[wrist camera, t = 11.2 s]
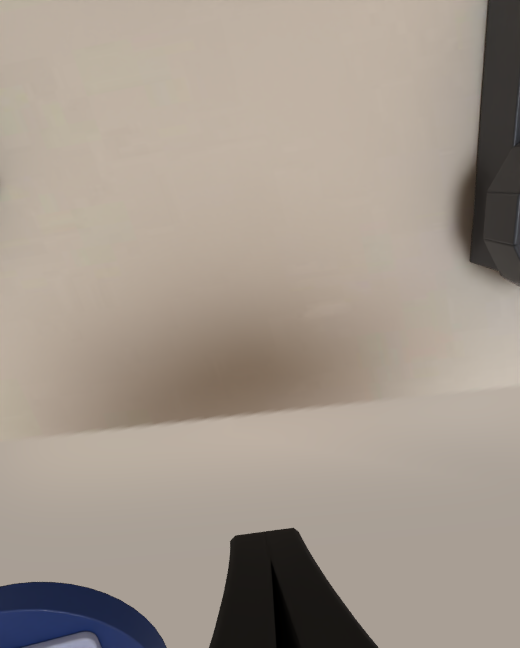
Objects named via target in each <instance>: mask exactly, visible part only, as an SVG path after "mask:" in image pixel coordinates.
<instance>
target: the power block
mask: <svg viewBox="0 0 520 648" xmlns="http://www.w3.org/2000/svg"><path fill="white" fill-rule="evenodd" d="M470 262H472V263H475V264H478V265H481V266H484V267H487V268H491V269H494V270H497V271H499V273H500V275H501V276H503V277H504V278H505V279H507V280H509V281H510V282H512V283H514V284H516V285H518V286H520V0H489V7H488V21H487V35H486V49H485V63H484V77H483V90H482V104H481V118H480V132H479V146H478V160H477V174H476V187H475V201H474V215H473V229H472V243H471V257H470Z"/></svg>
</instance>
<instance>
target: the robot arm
mask: <svg viewBox="0 0 520 648" xmlns="http://www.w3.org/2000/svg"><path fill="white" fill-rule="evenodd" d="M22 648H102V647H101V645H100V643H99V640H98V638H97V636H96V635H95V634H94V633H92V632H88V631H84V632H80V633H76V634H72V635H68V636H64V637H60V638H56V639H53V640H49V641H45V642H41V643H37V644H33V645H29V646H26V647H22ZM209 648H378V646H377V645H376V644H375V643H374V642H373V640H372V639H371V638H370V637H369V635H368V634H367V633H366V632H365V631H364V629H363V628H362V627H361V625H360V624H359V623H358V622H357V620H356V619H355V618H354V616H353V615H352V614H351V612H350V611H349V610H348V608H347V607H346V606H345V604H344V603H343V602H342V600H341V599H340V597H339V596H338V595H337V593H336V592H335V591H334V589H333V588H332V586H331V585H330V583H329V582H328V580H327V579H326V577H325V576H324V574H323V573H322V571H321V570H320V568H319V567H318V565H317V563H316V562H315V560H314V559H313V557H312V555H311V554H310V552H309V550H308V549H307V547H306V545H305V543H304V541H303V540H302V538H301V536H300V534H299V532H298V531H297V530H296V529H294V528H289V529H281V530H274V531H266V532H259V533H252V534H245V535H237V536H235V537H234V538H233V539H232V540H231V541H230V560H229V568H228V574H227V579H226V584H225V590H224V594H223V598H222V602H221V606H220V611H219V615H218V618H217V622H216V627H215V630H214V634H213V637H212V640H211V643H210V647H209Z"/></svg>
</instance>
